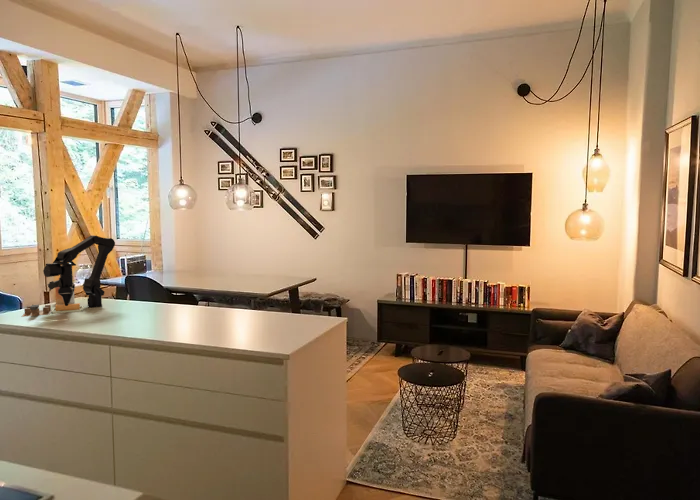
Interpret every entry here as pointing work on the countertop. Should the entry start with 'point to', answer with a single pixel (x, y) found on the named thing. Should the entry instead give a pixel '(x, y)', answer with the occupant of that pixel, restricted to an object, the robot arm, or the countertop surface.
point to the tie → (34, 307)
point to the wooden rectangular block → (67, 307)
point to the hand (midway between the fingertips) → (67, 304)
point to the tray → (67, 310)
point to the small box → (60, 299)
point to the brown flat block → (37, 311)
